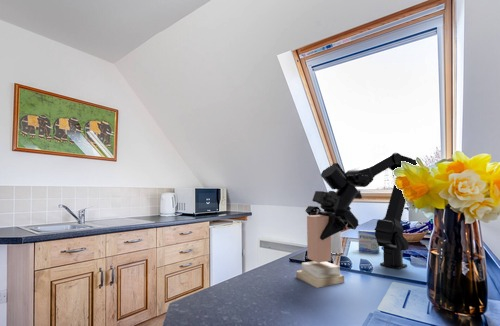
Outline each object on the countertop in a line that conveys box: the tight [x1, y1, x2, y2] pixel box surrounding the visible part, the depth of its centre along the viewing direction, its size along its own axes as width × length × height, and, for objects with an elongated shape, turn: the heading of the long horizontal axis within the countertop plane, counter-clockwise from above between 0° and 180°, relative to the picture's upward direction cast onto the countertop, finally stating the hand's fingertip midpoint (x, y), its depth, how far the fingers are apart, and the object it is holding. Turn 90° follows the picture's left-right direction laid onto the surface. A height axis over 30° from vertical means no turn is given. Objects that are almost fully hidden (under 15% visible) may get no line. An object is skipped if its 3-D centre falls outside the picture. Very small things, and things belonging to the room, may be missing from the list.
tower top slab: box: [301, 260, 341, 279], centre depth 87 cm, size 8×8×2 cm
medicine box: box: [357, 229, 380, 254], centre depth 122 cm, size 8×4×9 cm, turn 62°
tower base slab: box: [295, 269, 345, 289], centre depth 87 cm, size 10×10×2 cm
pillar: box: [306, 215, 332, 263], centre depth 88 cm, size 5×5×13 cm
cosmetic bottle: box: [331, 231, 344, 254], centre depth 120 cm, size 6×6×22 cm
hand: (315, 237), depth 87 cm, fingers closed on pillar, 5 cm apart
